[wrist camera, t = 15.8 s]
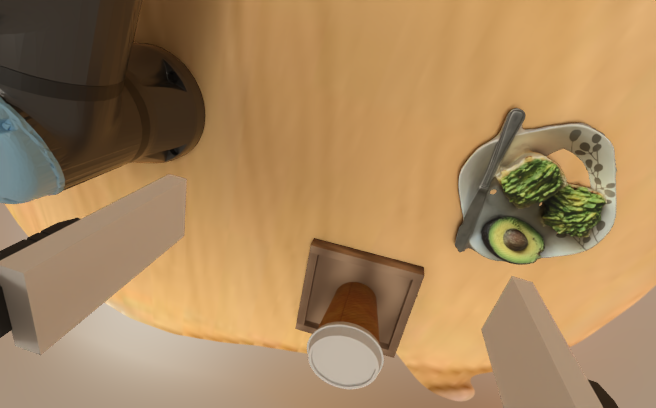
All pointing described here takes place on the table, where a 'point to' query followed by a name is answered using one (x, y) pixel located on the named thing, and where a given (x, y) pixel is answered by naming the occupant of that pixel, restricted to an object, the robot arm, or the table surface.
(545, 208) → the salad plate
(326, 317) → the disposable coffee cup
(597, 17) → the table surface
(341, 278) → the walnut tray
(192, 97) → the robot arm
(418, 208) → the table surface
